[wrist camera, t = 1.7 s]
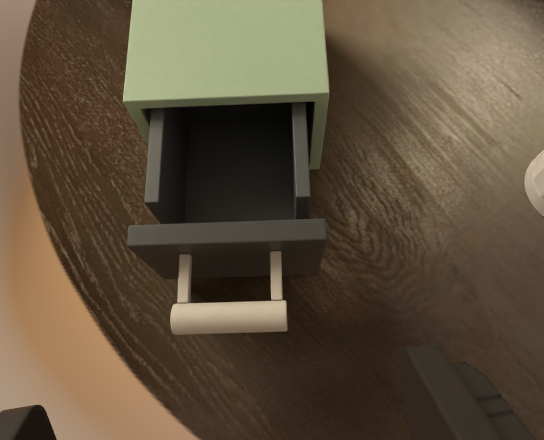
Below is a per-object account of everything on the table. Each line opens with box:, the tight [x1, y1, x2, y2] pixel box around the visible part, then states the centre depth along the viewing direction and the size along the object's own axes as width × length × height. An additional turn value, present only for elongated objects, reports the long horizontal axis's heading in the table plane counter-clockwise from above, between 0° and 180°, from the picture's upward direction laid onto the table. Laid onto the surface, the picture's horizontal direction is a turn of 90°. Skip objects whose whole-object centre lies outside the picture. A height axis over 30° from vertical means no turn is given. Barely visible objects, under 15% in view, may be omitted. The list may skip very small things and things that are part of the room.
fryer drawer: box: [127, 102, 327, 335], centre depth 29 cm, size 17×10×8 cm, turn 1°
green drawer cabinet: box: [123, 0, 330, 170], centre depth 33 cm, size 14×12×10 cm
